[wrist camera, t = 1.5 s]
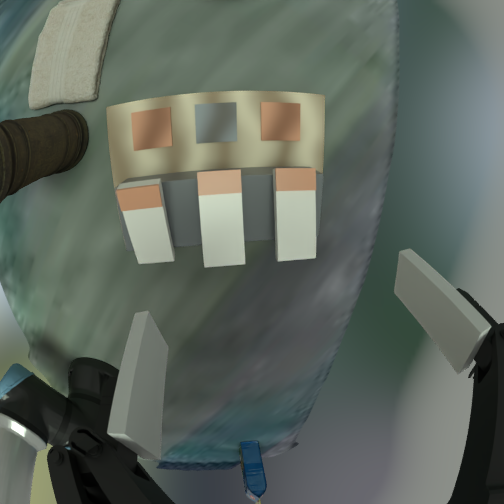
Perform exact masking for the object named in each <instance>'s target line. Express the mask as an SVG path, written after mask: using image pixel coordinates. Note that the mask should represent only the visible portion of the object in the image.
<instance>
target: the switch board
mask: <svg viewBox="0 0 504 504" xmlns="http://www.w3.org/2000/svg"><path fill="white" fill-rule="evenodd" d="M106 110H107V127H108V139H109V150H110V159H111V167H112V175H113V182H114V189H115V187H117V186H118V185H119V184H121V183H122V182H123V181H124V180H126V179H127V178H134V177H142V176H149V175H158V174H167V173H176V172H186V171H198V170H211V169H226V168H246V167H287V166H304V167H311V168H316V170H317V171H318V172H320V173H322V174H323V156H324V126H325V95H319V94H309V93H296V92H278V91H222V92H204V93H192V94H182V95H173V96H165V97H158V98H151V99H145V100H139V101H133V102H128V103H123V104H118V105H114V106H109V107H106ZM115 195H116V194H115ZM116 201H117V200H116ZM117 207H118V205H117ZM118 212H119V211H118ZM119 218H120V216H119ZM120 223H121V222H120ZM121 228H122V227H121ZM122 232H123V231H122ZM123 237H124V236H123ZM124 242H125V241H124ZM125 246H126V245H125Z"/></svg>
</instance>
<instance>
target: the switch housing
mask: <svg viewBox="0 0 504 504" xmlns="http://www.w3.org/2000/svg"><path fill="white" fill-rule="evenodd" d="M275 168H311V167H304V166H287V167H246V168H226V169H211V170H198V171H186V172H176V173H167V174H158V175H149V176H142V177H134V178H127V179H126V180H124V181H123V182H122V183H128V182H135V181H143V180H151V179H159V178H161V184H162V190H163V195H164V201H165V207H166V212H167V218H168V223H169V228H170V233H171V238H172V243H173V247H181V246H194V245H202V235H201V222H200V209H199V196H198V180H197V172H207V171H221V170H239V169H241V186H242V211H243V230H244V242H246V241H260V240H274V239H275V216H274V190H273V169H275ZM118 186H119V185H118ZM118 186H117V187H115V194H116V190H117V188H118ZM322 189H323V174H322V173H320V172H318V171H317V170H316V190H315V195H316V237H318V236H319V227H320V216H321V203H322ZM116 200H117V205H118V211H119V216H120V222H121V227H122V231H123V236H124V241H125V245H126V250H127V251H134V248H133V245H132V242H131V239H130V235H129V232H128V229H127V226H126V222H125V219H124V215H123V212H122V211H121V209H120V205H119V201H118V198H117V194H116Z"/></svg>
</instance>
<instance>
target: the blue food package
mask: <svg viewBox="0 0 504 504" xmlns="http://www.w3.org/2000/svg"><path fill="white" fill-rule="evenodd" d="M239 456H240V463H241V469H242V475H243V481H244V488H245V492H246V495H247V497H248V498H249V499H251V500H252V501H254V502H255V503H256V504H261V503H260V498H261V497H262V496H263V494H264V492H265V491H266V487H267V484H266V478H265V473H264V468H263V463H262V458H261V453H260V448H259V442H258V441H251V442H241V444H240V448H239Z"/></svg>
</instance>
